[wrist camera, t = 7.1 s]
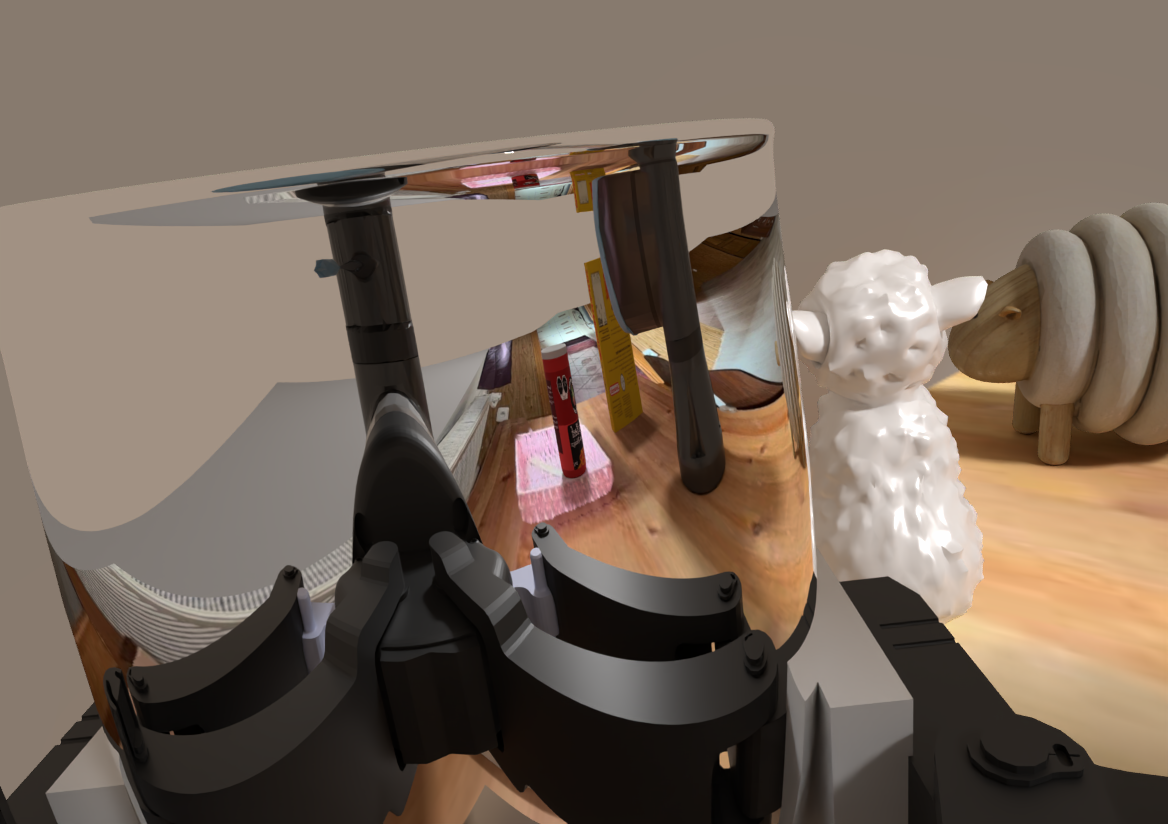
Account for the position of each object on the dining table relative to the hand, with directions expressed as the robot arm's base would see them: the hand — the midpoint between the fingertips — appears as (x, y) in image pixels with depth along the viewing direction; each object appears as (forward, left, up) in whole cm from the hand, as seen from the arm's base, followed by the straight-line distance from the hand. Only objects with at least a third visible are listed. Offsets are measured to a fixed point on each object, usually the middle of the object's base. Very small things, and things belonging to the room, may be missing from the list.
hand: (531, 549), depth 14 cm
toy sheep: (-33, +6, -9) cm, 35 cm away
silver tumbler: (+4, +3, -9) cm, 10 cm away
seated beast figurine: (-16, 0, -9) cm, 19 cm away
